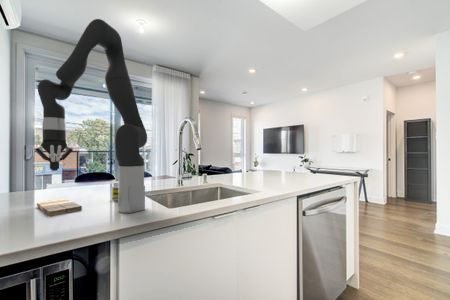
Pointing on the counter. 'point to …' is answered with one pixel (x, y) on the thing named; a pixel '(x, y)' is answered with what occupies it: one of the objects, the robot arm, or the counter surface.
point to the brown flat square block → (61, 208)
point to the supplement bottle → (115, 191)
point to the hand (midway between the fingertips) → (54, 170)
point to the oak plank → (52, 203)
